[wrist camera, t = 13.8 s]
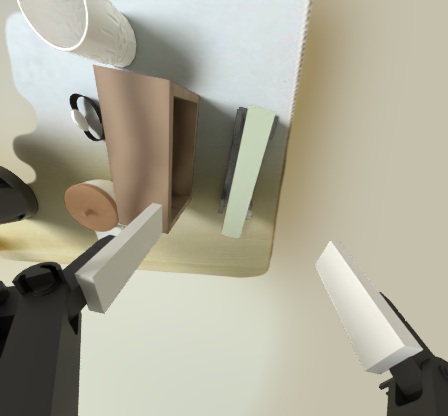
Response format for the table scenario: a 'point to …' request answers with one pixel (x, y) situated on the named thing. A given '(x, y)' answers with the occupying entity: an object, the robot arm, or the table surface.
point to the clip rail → (234, 154)
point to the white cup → (83, 29)
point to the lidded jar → (93, 204)
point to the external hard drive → (110, 232)
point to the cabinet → (148, 142)
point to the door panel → (247, 168)
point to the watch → (81, 120)
